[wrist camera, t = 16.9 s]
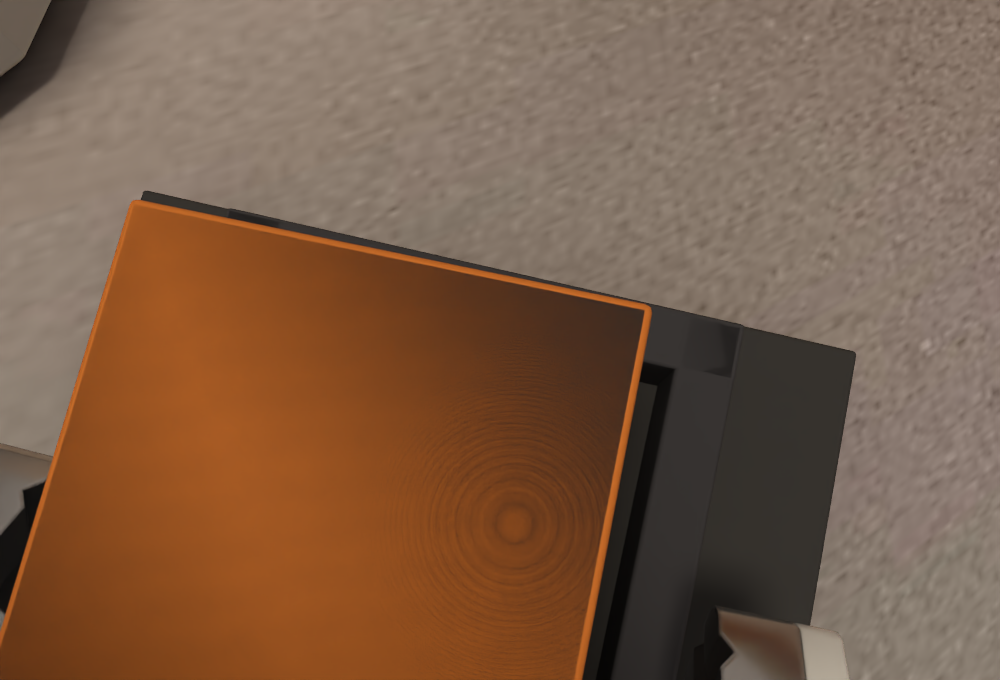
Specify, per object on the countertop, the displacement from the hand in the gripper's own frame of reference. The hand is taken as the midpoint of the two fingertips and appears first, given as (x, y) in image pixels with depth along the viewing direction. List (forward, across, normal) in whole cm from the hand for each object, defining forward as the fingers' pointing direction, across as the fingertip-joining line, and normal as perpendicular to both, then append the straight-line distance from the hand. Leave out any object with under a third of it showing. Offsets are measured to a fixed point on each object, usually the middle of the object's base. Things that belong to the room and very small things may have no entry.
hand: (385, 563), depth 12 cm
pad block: (+3, 0, +4) cm, 5 cm away
